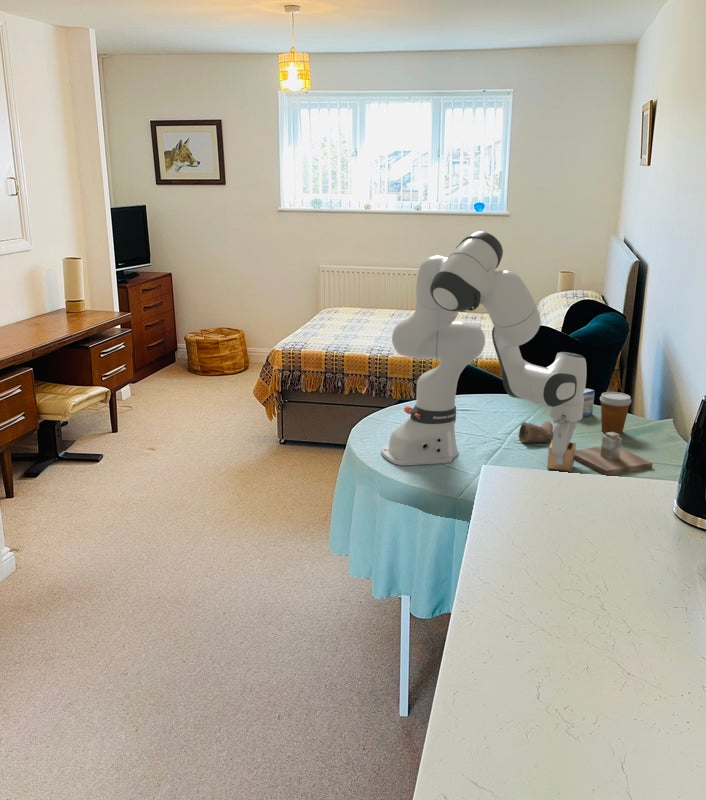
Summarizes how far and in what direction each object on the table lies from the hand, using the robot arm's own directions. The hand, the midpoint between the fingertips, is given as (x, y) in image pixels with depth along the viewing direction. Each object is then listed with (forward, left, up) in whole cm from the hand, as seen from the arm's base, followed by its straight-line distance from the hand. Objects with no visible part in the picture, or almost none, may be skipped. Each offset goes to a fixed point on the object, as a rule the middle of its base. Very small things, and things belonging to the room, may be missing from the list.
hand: (561, 458), depth 204 cm
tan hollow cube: (0, 0, -2) cm, 2 cm away
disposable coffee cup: (+35, +20, -3) cm, 40 cm away
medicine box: (+37, +38, -3) cm, 53 cm away
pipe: (+9, +24, -3) cm, 26 cm away
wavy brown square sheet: (+16, -1, -3) cm, 16 cm away
